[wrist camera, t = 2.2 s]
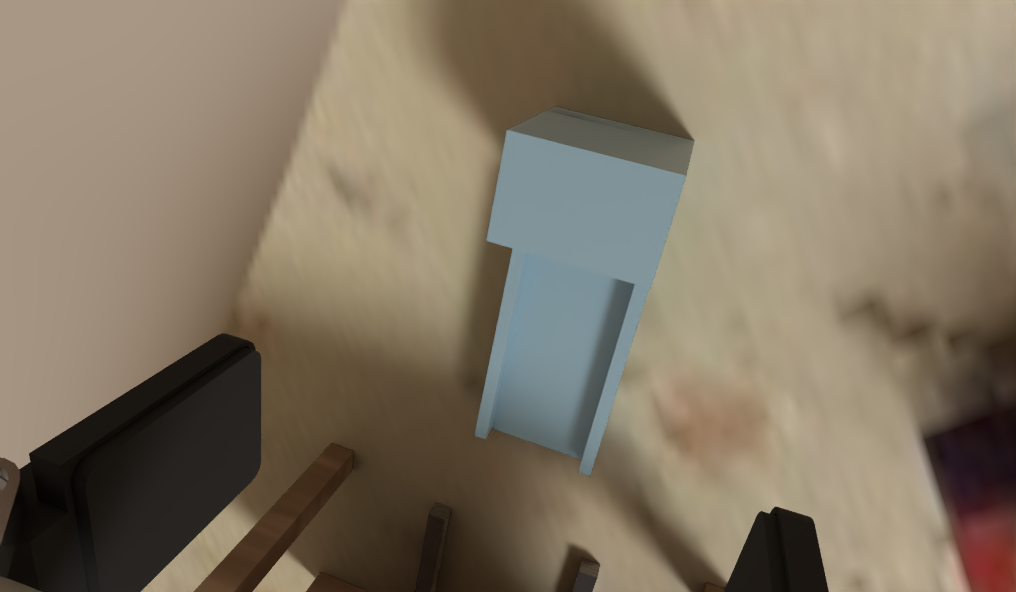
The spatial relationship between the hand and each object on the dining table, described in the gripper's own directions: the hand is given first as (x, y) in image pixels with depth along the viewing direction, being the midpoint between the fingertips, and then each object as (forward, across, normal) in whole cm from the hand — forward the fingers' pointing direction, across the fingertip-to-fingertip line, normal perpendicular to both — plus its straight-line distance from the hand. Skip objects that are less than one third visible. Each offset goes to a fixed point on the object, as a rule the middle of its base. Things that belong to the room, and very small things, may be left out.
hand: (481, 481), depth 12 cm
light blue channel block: (+19, +1, +4) cm, 20 cm away
